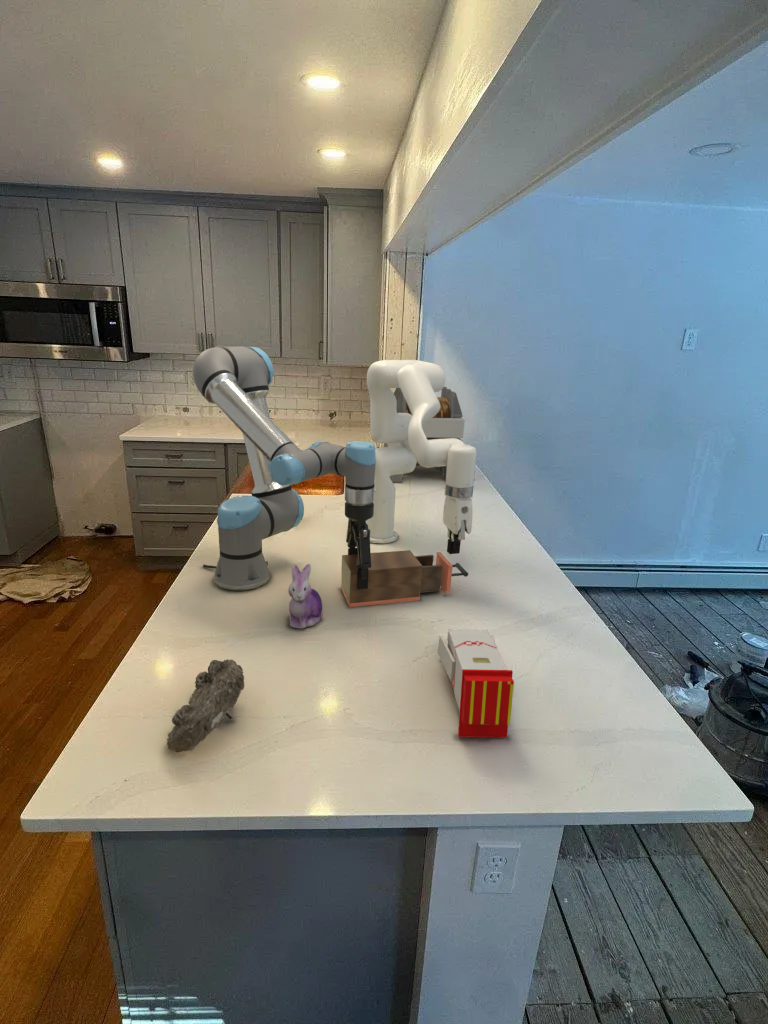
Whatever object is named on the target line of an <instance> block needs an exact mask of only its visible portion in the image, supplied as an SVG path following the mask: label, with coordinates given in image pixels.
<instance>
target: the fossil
mask: <svg viewBox="0 0 768 1024" xmlns="http://www.w3.org/2000/svg"><path fill="white" fill-rule="evenodd" d="M243 670H244V669H243V667H242V665H240V664H237V662H236V661H235V660H234V659H232V658H231V659H227V658H226V659H224V660H223V661H222V660H217V659H212V660H211V661H210V663H209V665H208V666H207V671H201V672H199V673H198V674H197V675H196V676H195V680H194V684H195V685H194V687H195V689H194V690H193V693H192V694H191V697H190V698H189V700H188V704H184V705H182V706H181V707H180V709H177V710H176V711H175V713H174V715H173V716H172V718H171V723H172V724H173V727H172V730H171V731H170V732H168V734H167V738H166V741H167V742H166V745H167V749H168V750H169V751H173V752H174V753H176V754H178V753H182V752H188V751H189V752H192V751H193V750H195V748H196V747H197V746H199V744H200V743H201V742H203V741H204V740H205V739H206V738H207V737H208V736H209V735H210V734H211V733H212V732H214V730H215V729H217V727H218V726H219V724H220V722H221V721H222V720H223V719H224V718H225V716H226V717H227V719H229V720H233V717H232V715H230V714H229V710H230V709H231V708H234V706H235V704H236V703H237V702H238V699H239V697H240V695H241V693H242V691H243V690H245V689H244V688H245V675H244V671H243Z"/></svg>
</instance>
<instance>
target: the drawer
mask: <svg viewBox="0 0 768 1024" xmlns="http://www.w3.org/2000/svg"><path fill="white" fill-rule="evenodd" d="M414 556H415V557H416V558H417V560H418V561H419V562H420V563H421V565H422V578H421V591H420V594H421V593H433V592H434V593H435V592H440V591H441V588H442V590H443V591H444V593H446V594H451V588H452V579H453V577H460V576H463V577H466V578H467V577H469V573H468V571H467V570H466V569H465V568H464V567H463V566H462V565H461V564H460V563H459V562H456V563H454V564H452V563H451V562H450V561H449V560H448V558H447V557H446V556H444V554H443V553H442V552H441V551H437V552H436V555H435V564H434V554H425V555H424V554H423V555H414ZM453 568H456V569H457V571H459V572H456V573H453Z"/></svg>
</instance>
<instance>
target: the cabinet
mask: <svg viewBox="0 0 768 1024" xmlns="http://www.w3.org/2000/svg"><path fill="white" fill-rule="evenodd" d="M415 556H416V555H415V554H414V553H413V552H412V551H411V550H410V549H406V550H394V551H379V552H371V568H368V589H357V573H358V568H357V567H356V566H357V565H359V561H358V554H351V555H348V554H341V577H340V579H341V581H340V589H341V592H342V594H343V596H344V598H345V601H346V603H347V605H348V608H354V607H355V608H356V607H365V606H375V605H376V606H377V605H385V604H395V603H405V602H415V601H420V600H421V593H420V591H421V578H422V565H421V563H420V562H419V561H418V560H417V558H416V557H415Z"/></svg>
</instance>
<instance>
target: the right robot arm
mask: <svg viewBox="0 0 768 1024" xmlns="http://www.w3.org/2000/svg"><path fill="white" fill-rule="evenodd" d="M445 385H446V374H445V372H444V370H443V368H442V367H441V366H440V365H439V364H437V363H434V362H428V361H424V360H419V359H382V360H378V361H377V360H376V361H375V362H373V363H371V365H370V366H369V367H368V369H367V373H366V386H367V391H368V395H369V403H370V406H369V432H370V437H371V440H372V442H374V443H376V444H384V443H395V442H399V446H389V447H384V446H380V447H375V454H376V465H375V478H374V483H375V484H374V489H376V492H374V501H373V503H374V515H373V517H372V518H370V519H368V520H367V521H366V524H368V529H370V543H373V544H389V543H393V542H395V541H397V540H398V537H399V534H398V532H397V531H396V530H395V528H394V527H395V510H396V509H395V508H396V507H395V506H396V485H395V484H394V482H392V481H391V479H390V476H391V475H397V474H403V475H404V474H409V473H412V472H413V471H414V470H415V468H416V467H417V466H416V462H418V463H419V464H420V465H421V466H420V467H423V468H425V469H429V468H430V469H431V468H437V467H440V466H447V472H446V479H445V483H444V484H445V485H444V496H445V498H444V503H443V504H444V505H443V510H442V511H443V512H442V522H443V525H444V526H445V528H447V544H446V545H447V546H446V552H447V553H448V555H458V554H460V552H461V542H462V541H464V540H466V534H469V535H470V534H471V533H472V531H473V530H472V528H473V499H472V498H473V494H474V486H475V475H476V465H477V455H478V454H477V453H478V452H477V451H478V450H477V449H476V448H475V446H473V445H470V444H466V443H465V442H464V441H463V440H462V441H463V442H462V441H460V440H459V439H456V438H447V439H433V440H427V438H426V436H425V434H424V432H423V429H422V424H423V423H424V422H426V421H428V420H430V419H431V418H433V417H434V416H435V415H436V414H437V413H438V412H439V410H440V403H439V401H438V399H437V397H438V396H437V395H436V393H438V392H442V389H443V387H445ZM396 388H401V391H402V393H403V395H404V397H405V400H406V402H407V404H408V406H409V409H410V411H411V413H412V415H411V414H409V413H397V401H396V397H395V395H394V392H393V390H392V389H396Z"/></svg>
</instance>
